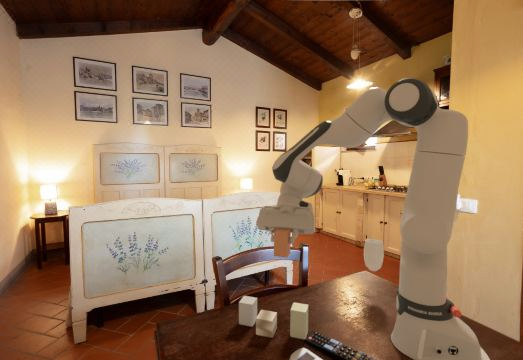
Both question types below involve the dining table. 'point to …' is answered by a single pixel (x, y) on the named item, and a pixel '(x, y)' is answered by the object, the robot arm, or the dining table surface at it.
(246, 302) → the light grey block
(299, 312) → the sage block
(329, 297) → the dining table surface
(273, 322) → the off-white cube
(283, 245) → the terracotta block
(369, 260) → the cup
